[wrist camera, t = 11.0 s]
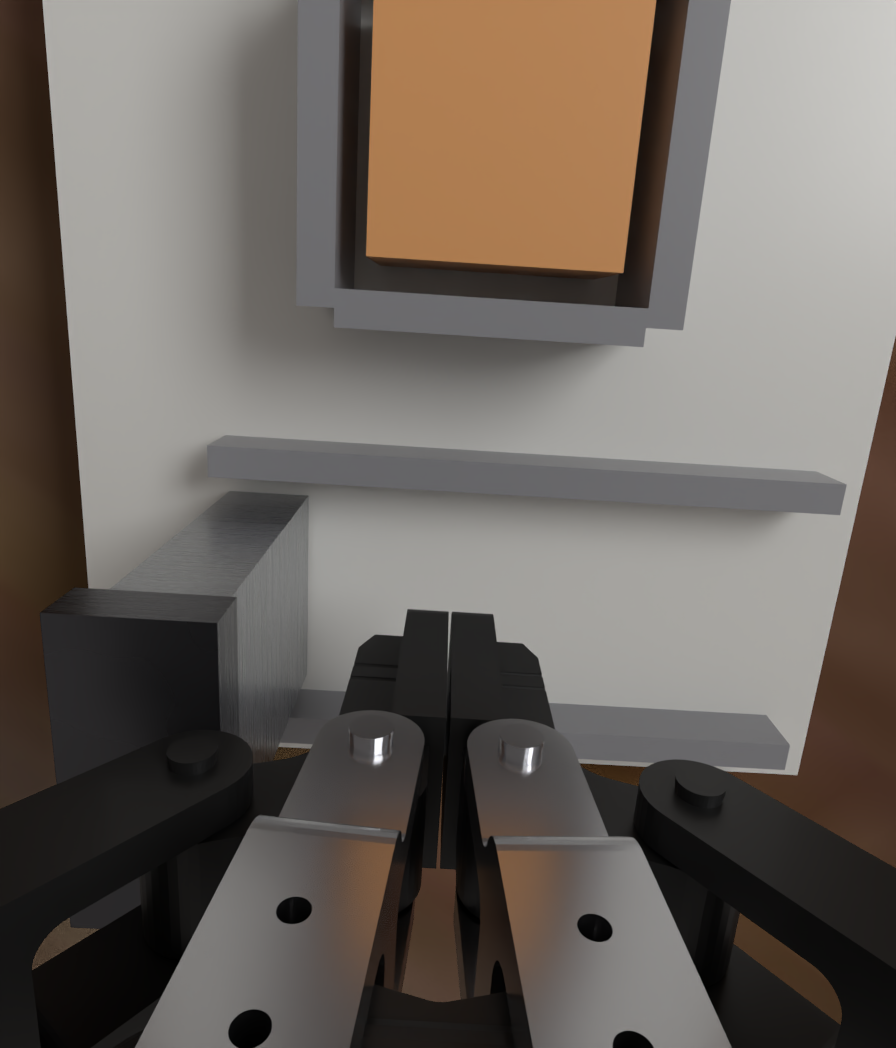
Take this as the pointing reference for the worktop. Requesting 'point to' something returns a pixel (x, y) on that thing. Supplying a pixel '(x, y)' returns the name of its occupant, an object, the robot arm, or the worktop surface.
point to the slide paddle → (183, 647)
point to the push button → (506, 134)
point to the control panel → (496, 357)
